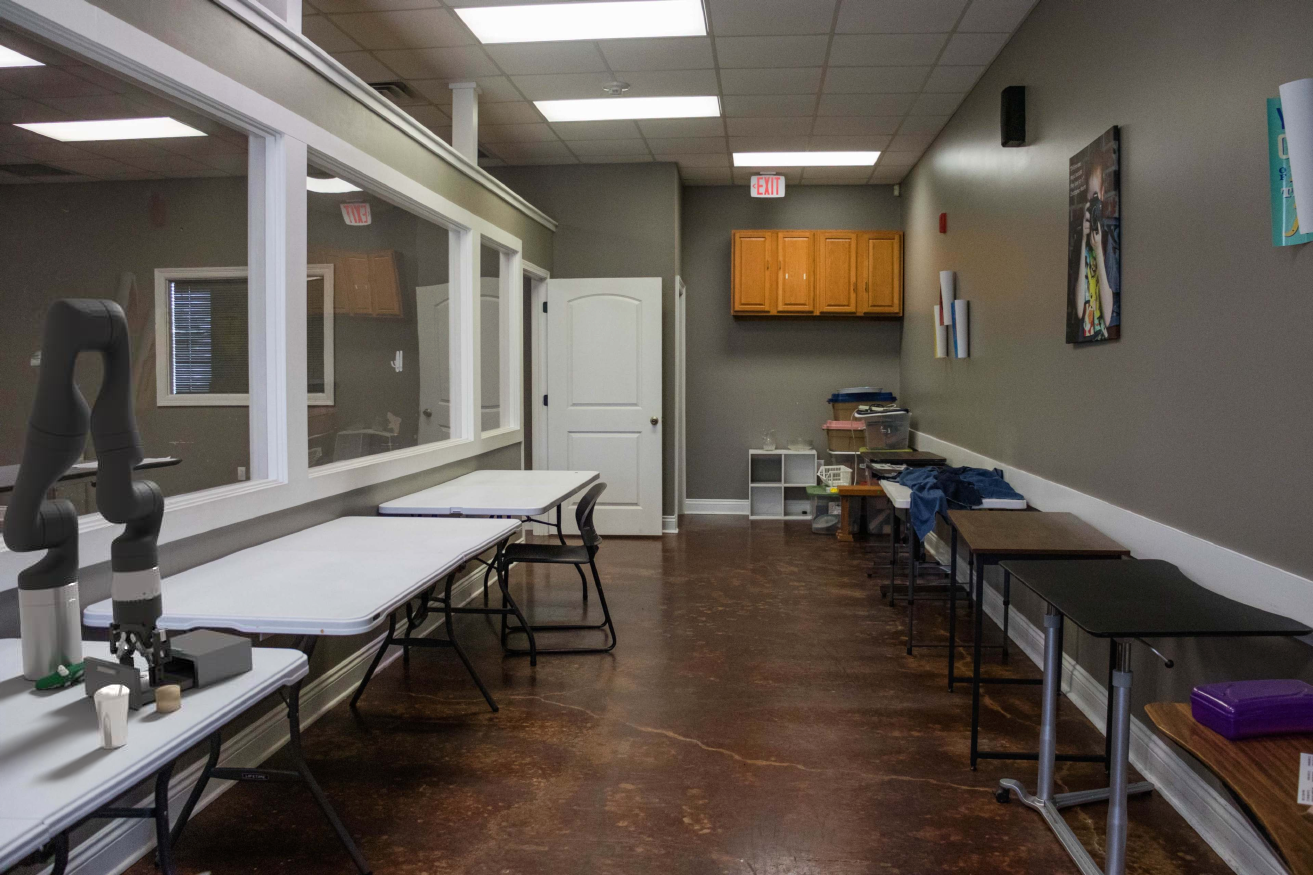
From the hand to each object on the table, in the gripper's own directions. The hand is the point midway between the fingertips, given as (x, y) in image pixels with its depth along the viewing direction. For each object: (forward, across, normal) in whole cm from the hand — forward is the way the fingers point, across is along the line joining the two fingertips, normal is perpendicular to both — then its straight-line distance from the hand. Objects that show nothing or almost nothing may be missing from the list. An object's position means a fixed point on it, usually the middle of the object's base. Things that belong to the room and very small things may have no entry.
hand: (142, 682), depth 151 cm
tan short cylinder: (+2, +12, -3) cm, 12 cm away
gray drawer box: (+2, 0, +11) cm, 11 cm away
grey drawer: (+2, 0, 0) cm, 2 cm away
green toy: (+2, -18, -3) cm, 18 cm away
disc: (+1, 0, 0) cm, 1 cm away
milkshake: (+2, +18, -15) cm, 24 cm away
